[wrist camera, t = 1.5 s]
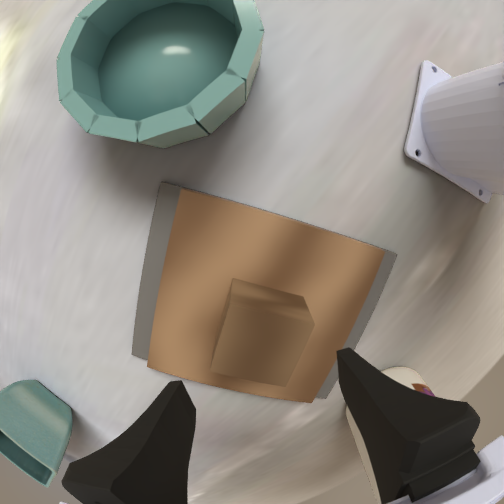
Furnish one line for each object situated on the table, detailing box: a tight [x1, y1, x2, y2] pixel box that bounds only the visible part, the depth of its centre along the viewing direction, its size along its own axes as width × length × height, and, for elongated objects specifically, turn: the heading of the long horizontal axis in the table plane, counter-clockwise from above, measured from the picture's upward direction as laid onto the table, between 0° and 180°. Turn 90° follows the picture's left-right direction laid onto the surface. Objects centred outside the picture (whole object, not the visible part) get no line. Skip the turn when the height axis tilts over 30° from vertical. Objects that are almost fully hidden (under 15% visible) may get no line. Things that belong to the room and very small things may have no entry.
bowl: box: [57, 0, 264, 148], centre depth 13 cm, size 11×11×4 cm
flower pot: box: [0, 380, 72, 487], centre depth 18 cm, size 9×9×9 cm
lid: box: [147, 188, 385, 403], centre depth 17 cm, size 13×13×4 cm
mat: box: [132, 182, 397, 399], centre depth 19 cm, size 16×13×1 cm
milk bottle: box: [346, 367, 435, 504], centre depth 13 cm, size 8×8×20 cm
